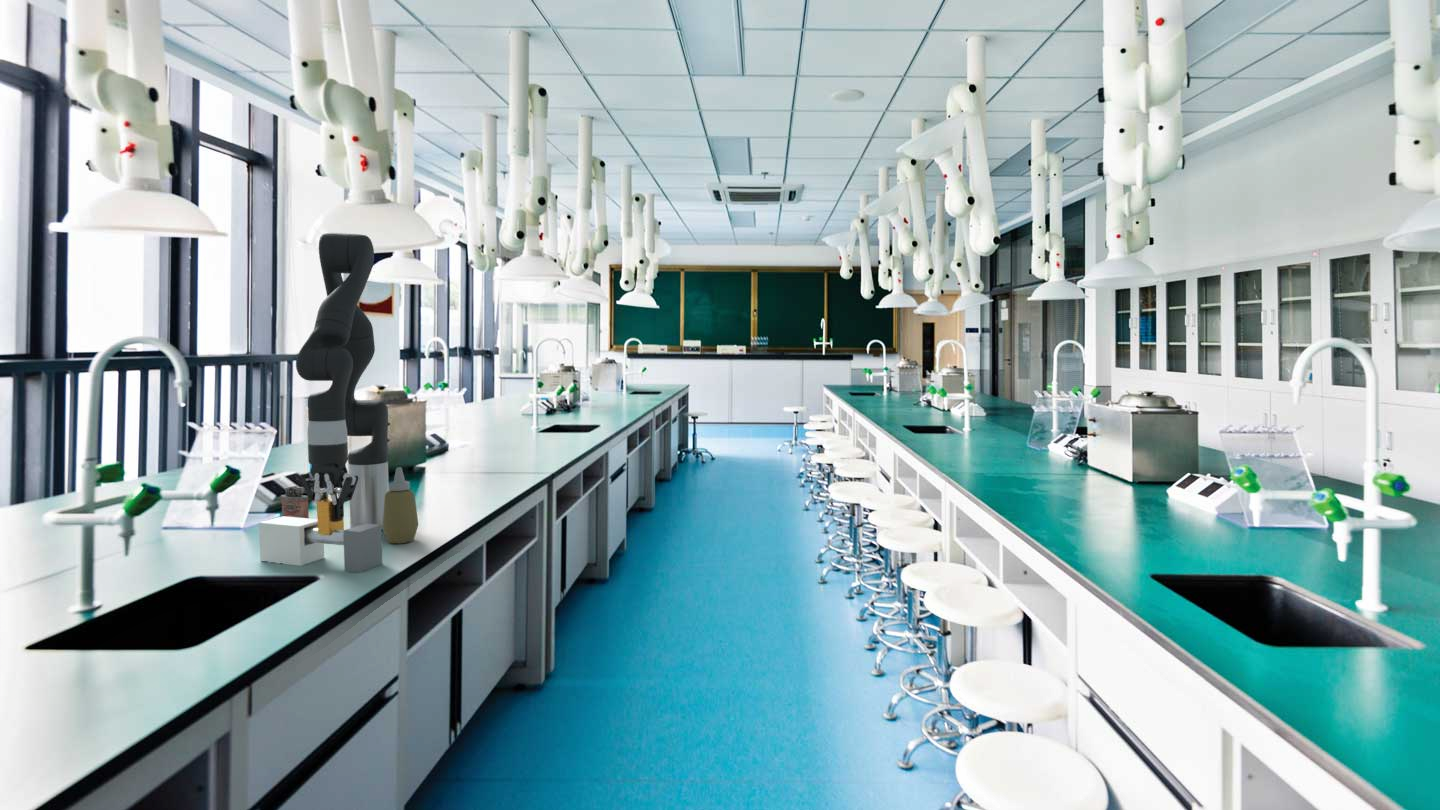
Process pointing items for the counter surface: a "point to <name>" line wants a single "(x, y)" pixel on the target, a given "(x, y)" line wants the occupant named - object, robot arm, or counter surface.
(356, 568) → the gray box
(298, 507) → the lighter
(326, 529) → the slip tube
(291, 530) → the white box
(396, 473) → the squeeze bottle
